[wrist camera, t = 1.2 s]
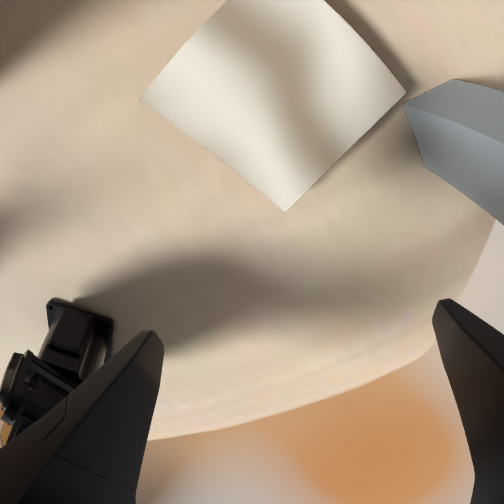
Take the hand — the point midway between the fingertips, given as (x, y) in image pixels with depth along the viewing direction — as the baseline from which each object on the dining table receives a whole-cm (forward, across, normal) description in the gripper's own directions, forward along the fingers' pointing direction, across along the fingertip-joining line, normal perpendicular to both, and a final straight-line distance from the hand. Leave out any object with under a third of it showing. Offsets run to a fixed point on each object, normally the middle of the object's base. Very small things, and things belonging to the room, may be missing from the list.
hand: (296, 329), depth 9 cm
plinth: (+13, 0, +5) cm, 14 cm away
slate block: (+14, +12, +1) cm, 18 cm away
